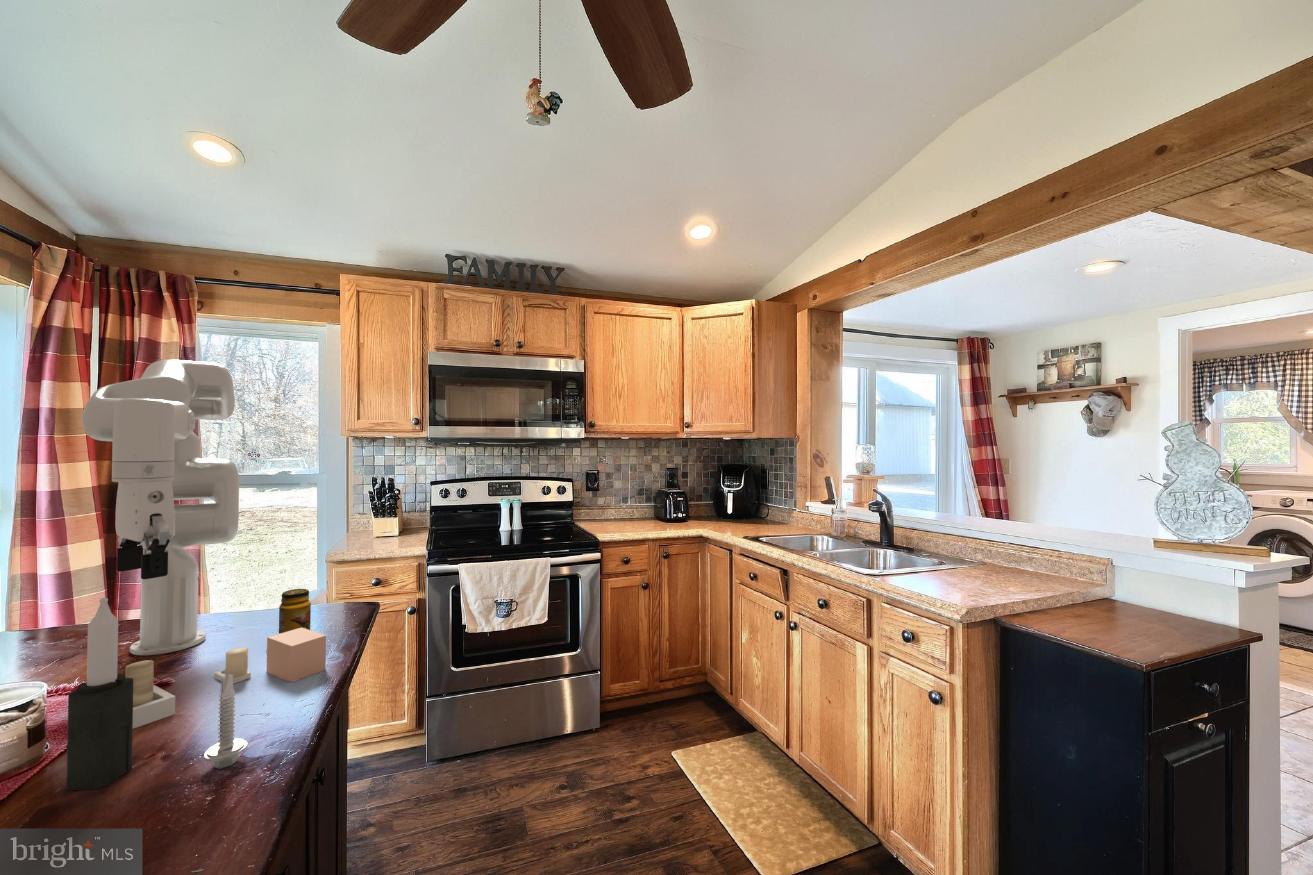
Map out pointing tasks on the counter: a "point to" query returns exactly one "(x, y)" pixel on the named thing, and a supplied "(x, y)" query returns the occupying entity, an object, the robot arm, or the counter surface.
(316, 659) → the block
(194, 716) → the counter surface
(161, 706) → the socket board
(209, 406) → the robot arm
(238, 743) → the screw
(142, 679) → the pin
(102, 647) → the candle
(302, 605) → the condiment
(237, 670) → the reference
